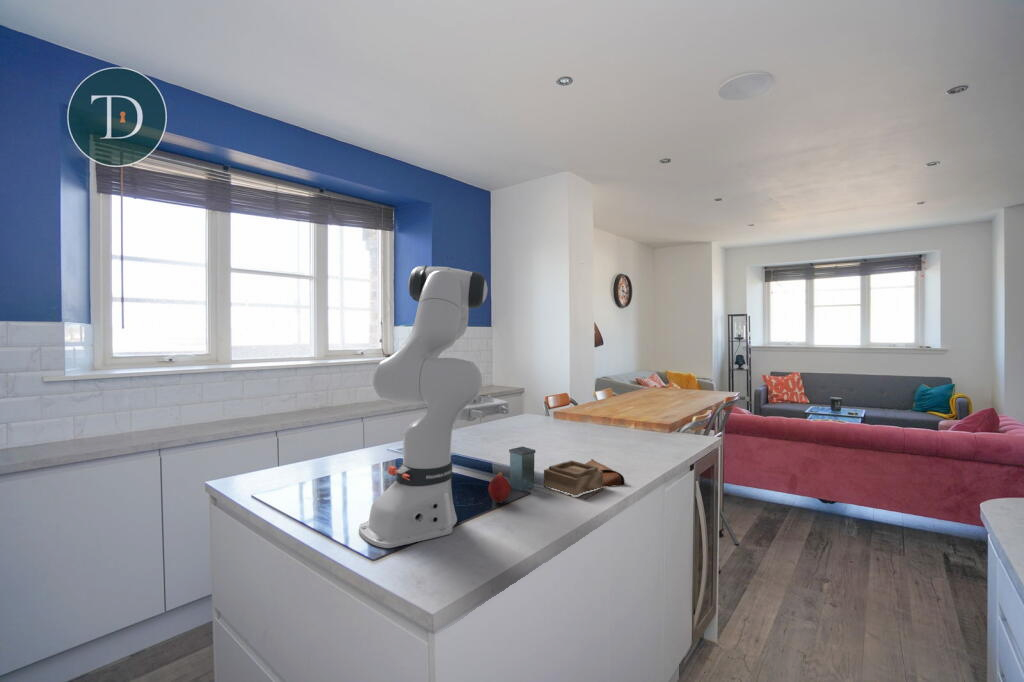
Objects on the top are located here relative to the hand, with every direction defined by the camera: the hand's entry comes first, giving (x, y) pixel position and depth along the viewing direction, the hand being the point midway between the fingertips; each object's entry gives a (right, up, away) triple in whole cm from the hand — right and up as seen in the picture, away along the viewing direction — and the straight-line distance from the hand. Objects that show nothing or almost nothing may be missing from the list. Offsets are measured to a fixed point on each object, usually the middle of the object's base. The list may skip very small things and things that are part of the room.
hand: (495, 413), depth 146 cm
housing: (+8, -20, -8) cm, 23 cm away
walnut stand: (+23, -20, -8) cm, 32 cm away
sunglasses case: (+31, -21, +1) cm, 38 cm away
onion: (+2, -21, -21) cm, 30 cm away
